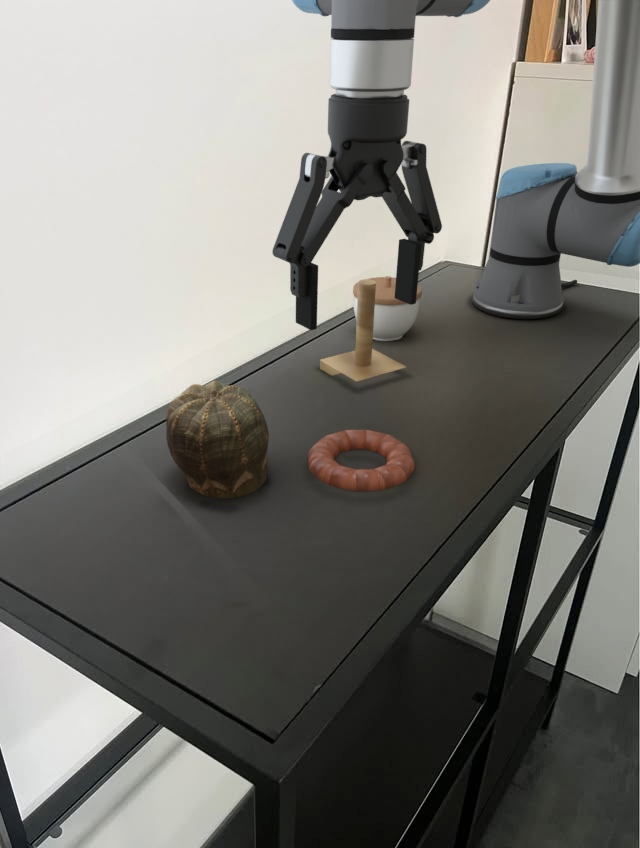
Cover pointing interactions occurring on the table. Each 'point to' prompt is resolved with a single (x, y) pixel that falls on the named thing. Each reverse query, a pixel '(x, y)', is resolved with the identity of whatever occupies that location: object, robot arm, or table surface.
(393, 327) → the trinket box
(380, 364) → the stand
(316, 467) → the ring
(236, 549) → the table surface
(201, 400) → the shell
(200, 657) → the table surface
